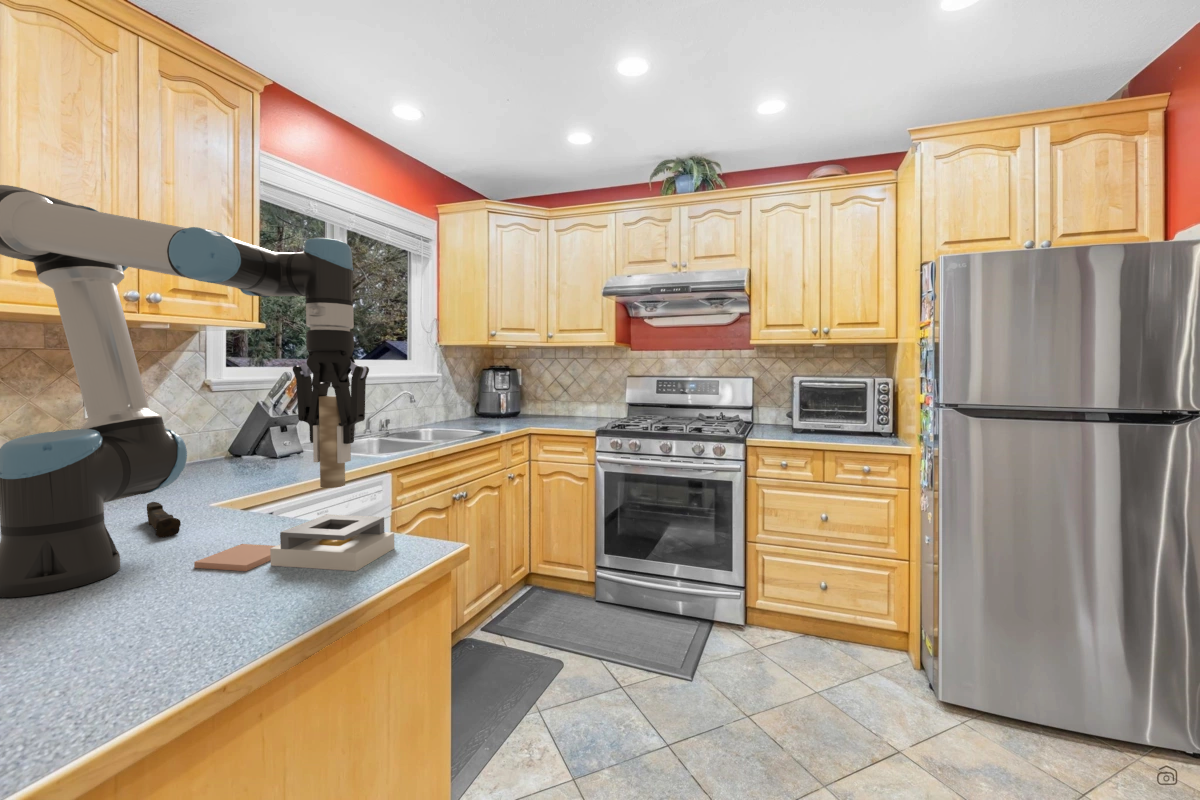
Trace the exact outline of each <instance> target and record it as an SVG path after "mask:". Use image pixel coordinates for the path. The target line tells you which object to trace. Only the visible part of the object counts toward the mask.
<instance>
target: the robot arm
mask: <svg viewBox="0 0 1200 800" xmlns="http://www.w3.org/2000/svg"><path fill="white" fill-rule="evenodd" d="M0 255H1V256H5V257H7V258H13V259H17V260H20V261H21V260H22V261H26V262H31V263H33V265H34V268H35V271H36V275H37V279H38V281H39V282H40V283H42V284H44V285H46V286H47V287H50V288H51V289H52V290H53V293H54V298H55V300H56V304H57V309H58V312H59V315H60V319H61V323H62V327H63V331H64V334H65V337H66V341H67V345H68V349H69V353H70V357H71V361H72V364H73V367H74V372H75V375H76V378H77V379H76V380H77V383H78V386H79V389H80V394H81V397H82V400H83V404H84V407H85V411H86V415H87V419H86V422H85V423H84V424H83V425H82V426H81V427H80V428H78V429H77V428H75V429H61V430H56V431H47V432H40V433H39V432H38V433H35V434H33V433H32V434H30V435H26V436H25V435H24V436H20V437H17V438H13V439H11V440H9V441H6V442H5V443H4V444H2V445H1V447H0V598H20V597H29V596H30V597H31V596H38V595H44V594H50V593H51V594H52V593H56V592H60V591H66V590H70V589H74V588H77V587H81V586H85V585H88V584H89V585H90V584H91V583H95V582H98V581H100V580H103V579H106V578H108V577H110V576H112V575H114V574H115V573H117V572H119V570H120V569H121V556H120V552H119V550H118V549H117V547H116V545H115V542H114V540H113V538H112V537H111V534H110V532H109V531H108V529H107V527H106V524H105V512H104V511H105V507H104V506H105V505H104V504H105V503H109V502H112V501H117V500H122V499H126V498H130V497H134V496H139V495H146V494H150V493H154V492H155V491H157V490H161V489H164V488H165V487H168V486H170V485H171V484H173V483H174V482H175V481H176V480H178V479H179V478H180V475H181V473H182V472H184V470H185V468H186V465H187V460H188V450H187V445H186V443H185V441H184V439H183V437H181V435H180V434H177V433H176V432H175V431H174V430H173V429H169V428H166V427H165V423H164V420H163V416H162V415H161V414H158V412H157V413H156V412H155V411H153V410H151V409H150V407H149V403H148V399H147V397H146V396H147V395H146V391H145V389H144V384H143V381H142V377H141V373H140V369H139V365H138V361H137V359H136V358H137V357H136V355H135V350H134V346H133V343H132V340H131V336H130V332H129V328H128V324H127V321H126V317H125V312H124V309H123V306H122V302H121V298H120V293H119V291H118V285H119V284H120V283H121V282H122V281H123V280H124V279H125V273H124V272H125V271H126V270H127V269H128V268H133V269H138V270H143V271H149V272H154V273H158V274H159V273H160V274H164V275H165V274H166V275H170V276H174V277H175V276H176V277H180V278H185V279H189V280H195V281H198V282H205V283H209V284H215V285H221V286H225V287H231V288H236V289H238V290H240V291H241V293H242V294H244V295H246V296H250V297H251V296H252V297H262V298H269V297H292V296H293V297H298V296H300V297H305V323H306V324H305V326H306V327H308V328H309V329H308V330H307V331H306V333H305V336H306V338H305V339H306V341H305V342H306V344H305V345H306V348H305V349H306V350H307V352H308V356H307V359H306V362H305V363H303V364H301V365H294V366H293V367H292V372H293V374H294V377H295V379H296V380H295V381H296V383H295V384H296V398H297V401H296V402H297V419H298V420H299V421H300V422H304V423H307V424H308V425H309V426H308V427H309V441H310V444H311V443H312V444H313V445H312V447H313V448H312V452H313V453H312V455H313V456H312V457H313V463H320V436H319V396H328V391H329V388H333V389H334V390H333V391H334V396H336V400H337V405H338V410H339V415H340V420H341V423H338V424H339V425H340V426H337V463H344V462H345V463H347V462H351V461H352V456H351V455H352V453H351V452H352V451H351V445H352V444H353V443H354V442H355V425H356V424H357V423H360V422H361V423H362V422H364V421H365V418H366V384H367V383H366V380H367V377H368V375H369V371H370V368H369V366H364V365H360V364H358V363H356V360H355V358H354V357H353V356H354V355H353V353H354V351H355V350H354V349H355V347H354V346H355V339H354V338H355V337H354V336H355V335H354V333H353V332H352V331H351V330H352V329H354V328H355V327H354V326H355V325H354V324H355V323H354V319H355V318H354V301H353V298H354V297H353V293H354V292H353V289H354V288H353V287H354V285H353V282H354V280H353V279H354V278H353V276H354V273H353V272H354V265H353V253H352V248H351V246H350V245H349V243H347V242H344V241H341V240H339V239H334V238H333V239H332V238H326V237H313V238H308V239H307V240H305V242H304V248H303V251H300V252H276V251H271V250H269V249H266V248H263V247H260V246H257V245H254V244H251V243H249V242H244V241H241V240H240V239H236V238H233V237H230V236H227V235H225V234H223V233H222V232H219V231H216V230H212V229H207V228H203V227H197V226H189V227H183V226H177V225H172V224H168V223H167V224H166V223H162V222H157V221H156V222H155V221H150V220H146V219H141V218H136V217H135V218H134V217H130V216H129V217H128V216H124V215H120V214H119V215H117V214H113V213H107V212H102V211H98V210H97V209H94V208H91V207H89V206H85V205H80V204H75V203H72V202H69V201H64V200H61V199H58V198H56V197H52V196H48V195H46V194H42V193H39V192H36V191H34V190H30V189H26V188H23V187H19V186H14V185H8V184H7V185H6V184H0ZM349 375H351V380H350V377H349Z"/></svg>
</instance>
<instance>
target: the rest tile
mask: <svg viewBox="0 0 1200 800" xmlns="http://www.w3.org/2000/svg"><path fill="white" fill-rule="evenodd" d="M275 546H276V545H270V544H269V545H267V544H254V543H253V544H250V543H239V544H238V545H236V546H232V547H230V548H228V549H224V550H221V551H220V552H216V553H214V554H211V555H210V556H209V555H208V556H206V557H203V558H201V559H198V560H196V561H194V562H193V565H194V569H205V570H206V569H207V570H223V571H224V570H225V571H238V572H248V571H250V570H252V569H255V568H256V567H259V566H261V565H264V564H267V562H271V557H270V548H272V547H275Z"/></svg>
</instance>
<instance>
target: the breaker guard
mask: <svg viewBox="0 0 1200 800" xmlns="http://www.w3.org/2000/svg"><path fill="white" fill-rule="evenodd" d="M279 535H280V544H278V545H274V546H275V547H272V548H270V557H271V561H270V566H272V567H285V568H286V567H287V568H301V569H302V568H303V569H317V570H334V571H348V572H357V571H358V570H360V569H362V568H364V567H365V566H367V565H368V564H370V563H372V562H374V561H375V560H378V559H379V558H381V557H382V556H384V555H386V554H387V553H389V552H390V551H393V550H394V549H395V532H390V531H389V532H387V531H385V517H384V516H369V515H368V516H367V515H351V514H350V515H348V514H347V515H346V514H329V513H328V514H327V513H326V514H324V515H321V516H319V517H316V518H313V519H311V520H308V521H306V522H303V523H301V524H298V525H296V526H293V527H291V528H287V529H285V530H283V531H280V532H279ZM348 538H350V541H349V542H347V543H345V544H343V545H341V546H327V545H320V540H322V539H329V540H346V539H348Z"/></svg>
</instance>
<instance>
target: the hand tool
mask: <svg viewBox="0 0 1200 800" xmlns="http://www.w3.org/2000/svg"><path fill="white" fill-rule="evenodd" d="M163 507H164V506H163V505H162V503H161V502H157V501H151V502H148V503H147V504H146V514H147V515H146V516H147V523H148V525H149V526H151V527H153V529H154V530H155V535H156V536H157V537H158V538H159V539H161V538H168V537H172V536H173V537H174V536H176V535H177V534H179V533H180V527H181V523H182V522H181V520H180V519H179V518H176V517H174V515H173V514H169V513H168V512H166V511H165V510H164V508H163Z"/></svg>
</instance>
